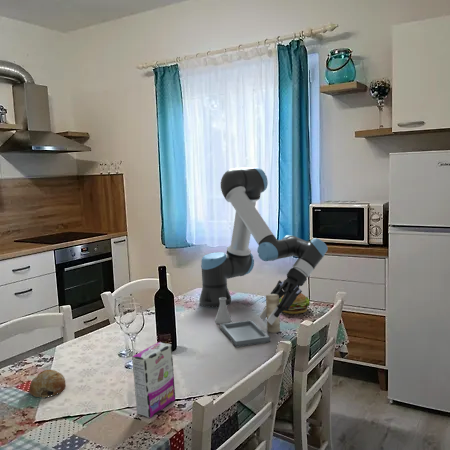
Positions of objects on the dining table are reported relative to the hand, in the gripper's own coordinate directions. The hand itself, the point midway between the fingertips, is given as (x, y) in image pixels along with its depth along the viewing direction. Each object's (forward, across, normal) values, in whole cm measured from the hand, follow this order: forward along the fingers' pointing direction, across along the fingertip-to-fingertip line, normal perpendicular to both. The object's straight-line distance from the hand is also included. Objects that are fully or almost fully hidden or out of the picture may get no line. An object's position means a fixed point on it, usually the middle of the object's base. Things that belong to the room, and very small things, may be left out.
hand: (265, 320), depth 180 cm
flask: (+9, +20, +2) cm, 22 cm away
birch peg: (+1, 0, -6) cm, 6 cm away
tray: (+9, +2, +2) cm, 10 cm away
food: (-14, +16, -21) cm, 30 cm away
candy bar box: (+42, -32, +35) cm, 64 cm away
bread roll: (+60, -6, +53) cm, 80 cm away
